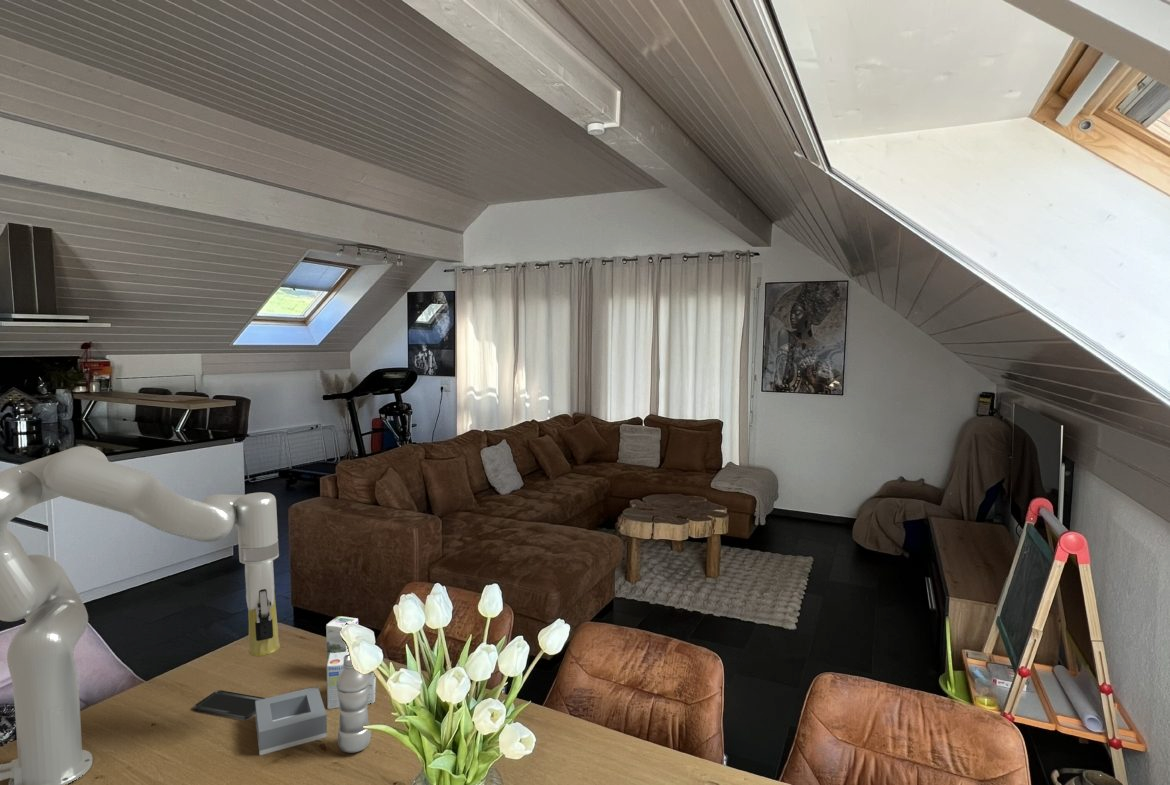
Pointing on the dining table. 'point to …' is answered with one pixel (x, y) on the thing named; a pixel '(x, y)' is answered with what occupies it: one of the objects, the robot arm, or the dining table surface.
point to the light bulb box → (333, 673)
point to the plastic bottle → (353, 708)
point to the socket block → (290, 720)
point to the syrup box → (336, 635)
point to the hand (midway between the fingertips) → (263, 632)
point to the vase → (268, 644)
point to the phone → (228, 705)
